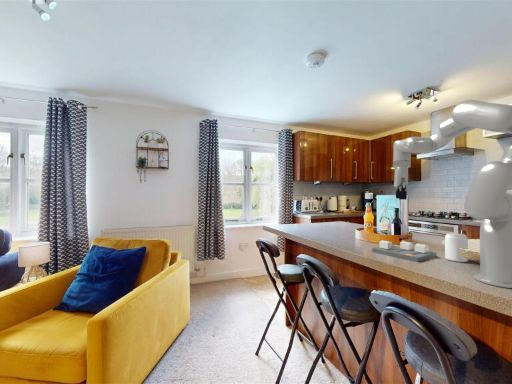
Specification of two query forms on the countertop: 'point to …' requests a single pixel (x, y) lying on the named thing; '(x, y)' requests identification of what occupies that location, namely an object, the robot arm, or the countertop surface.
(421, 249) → the knob
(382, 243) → the knob
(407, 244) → the knob
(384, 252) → the switch panel
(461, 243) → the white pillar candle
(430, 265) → the countertop surface
